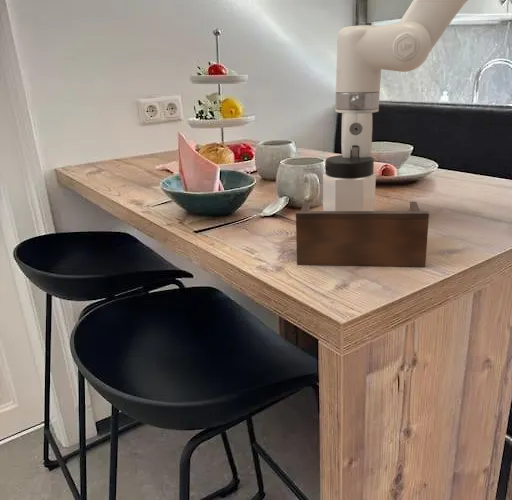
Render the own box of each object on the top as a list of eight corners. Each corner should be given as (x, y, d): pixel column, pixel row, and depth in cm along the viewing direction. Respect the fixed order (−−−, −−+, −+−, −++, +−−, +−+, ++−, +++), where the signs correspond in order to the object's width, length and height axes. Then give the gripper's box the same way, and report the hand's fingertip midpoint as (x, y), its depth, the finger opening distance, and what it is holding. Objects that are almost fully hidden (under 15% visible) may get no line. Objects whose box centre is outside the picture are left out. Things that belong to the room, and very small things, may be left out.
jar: (341, 216, 95) (342, 152, 91) (380, 222, 90) (383, 156, 86) (315, 228, 89) (314, 161, 85) (355, 236, 84) (357, 165, 80)
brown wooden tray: (296, 264, 73) (295, 213, 70) (304, 236, 85) (303, 191, 82) (425, 267, 70) (429, 213, 67) (414, 237, 82) (417, 190, 79)
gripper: (380, 106, 80) (374, 216, 86) (377, 99, 94) (372, 195, 100) (333, 106, 81) (330, 215, 88) (336, 100, 95) (334, 194, 101)
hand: (352, 204), depth 94 cm, fingers closed
